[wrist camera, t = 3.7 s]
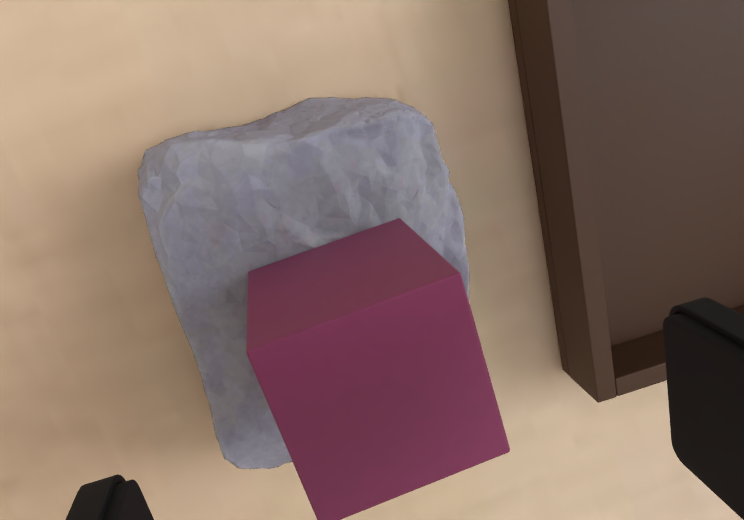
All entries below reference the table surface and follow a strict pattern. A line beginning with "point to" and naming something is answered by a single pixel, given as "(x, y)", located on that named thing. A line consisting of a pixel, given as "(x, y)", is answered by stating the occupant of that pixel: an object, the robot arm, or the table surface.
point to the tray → (634, 171)
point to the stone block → (282, 227)
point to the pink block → (371, 368)
